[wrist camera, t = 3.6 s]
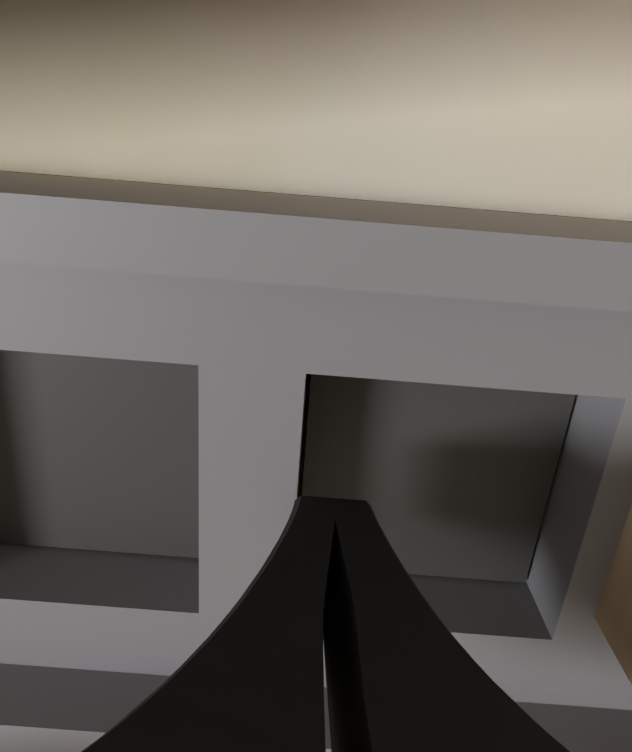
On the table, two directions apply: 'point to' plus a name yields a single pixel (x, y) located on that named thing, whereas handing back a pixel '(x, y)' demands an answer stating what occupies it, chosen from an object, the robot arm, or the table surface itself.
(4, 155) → the table surface
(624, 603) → the block
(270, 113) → the table surface
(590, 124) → the table surface
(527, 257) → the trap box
